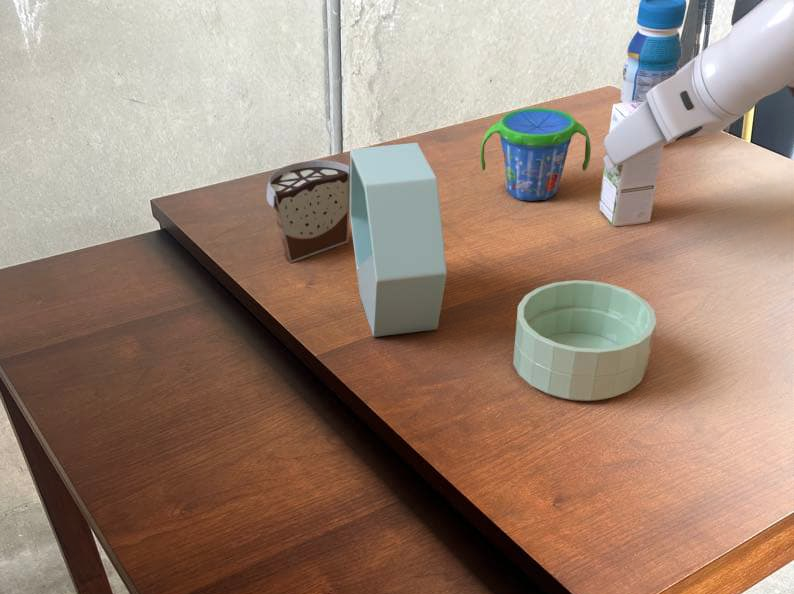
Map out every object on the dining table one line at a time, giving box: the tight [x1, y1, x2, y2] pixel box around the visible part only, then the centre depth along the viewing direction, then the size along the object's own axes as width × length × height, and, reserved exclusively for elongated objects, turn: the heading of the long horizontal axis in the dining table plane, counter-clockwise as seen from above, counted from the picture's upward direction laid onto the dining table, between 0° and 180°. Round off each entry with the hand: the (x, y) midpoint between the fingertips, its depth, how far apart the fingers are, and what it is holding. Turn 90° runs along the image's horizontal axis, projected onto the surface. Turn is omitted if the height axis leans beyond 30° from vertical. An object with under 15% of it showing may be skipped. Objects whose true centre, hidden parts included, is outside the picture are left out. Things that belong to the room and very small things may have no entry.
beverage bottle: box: [619, 0, 687, 103], centre depth 134 cm, size 8×8×20 cm
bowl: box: [512, 279, 657, 402], centre depth 94 cm, size 14×14×6 cm
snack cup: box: [480, 107, 592, 202], centre depth 124 cm, size 16×10×10 cm
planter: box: [349, 142, 448, 338], centre depth 99 cm, size 17×8×21 cm
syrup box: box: [597, 100, 665, 227], centre depth 117 cm, size 6×6×14 cm
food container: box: [266, 160, 350, 264], centre depth 115 cm, size 12×6×10 cm, turn 126°
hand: (629, 154), depth 116 cm, fingers closed on syrup box, 7 cm apart
